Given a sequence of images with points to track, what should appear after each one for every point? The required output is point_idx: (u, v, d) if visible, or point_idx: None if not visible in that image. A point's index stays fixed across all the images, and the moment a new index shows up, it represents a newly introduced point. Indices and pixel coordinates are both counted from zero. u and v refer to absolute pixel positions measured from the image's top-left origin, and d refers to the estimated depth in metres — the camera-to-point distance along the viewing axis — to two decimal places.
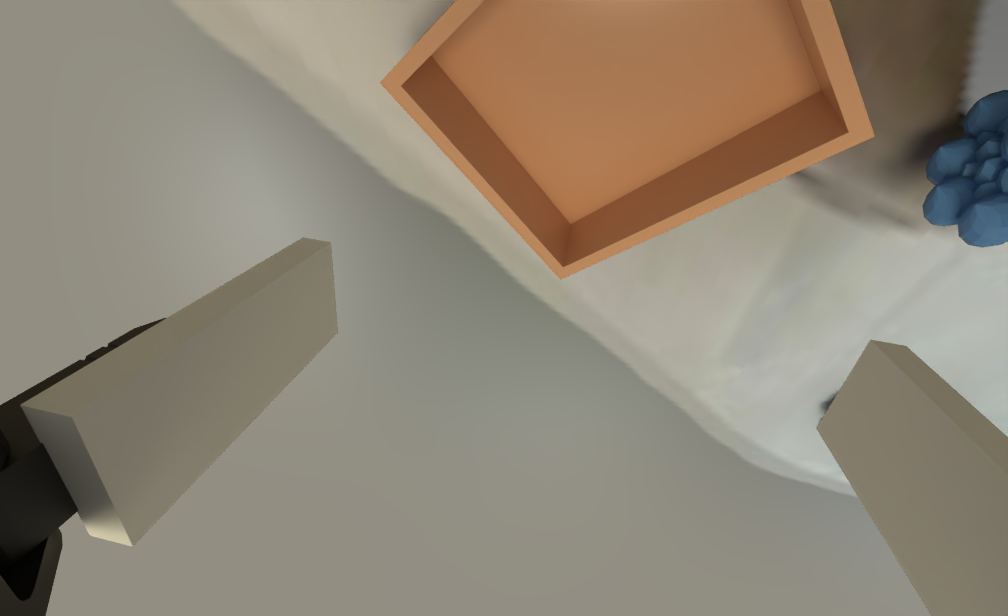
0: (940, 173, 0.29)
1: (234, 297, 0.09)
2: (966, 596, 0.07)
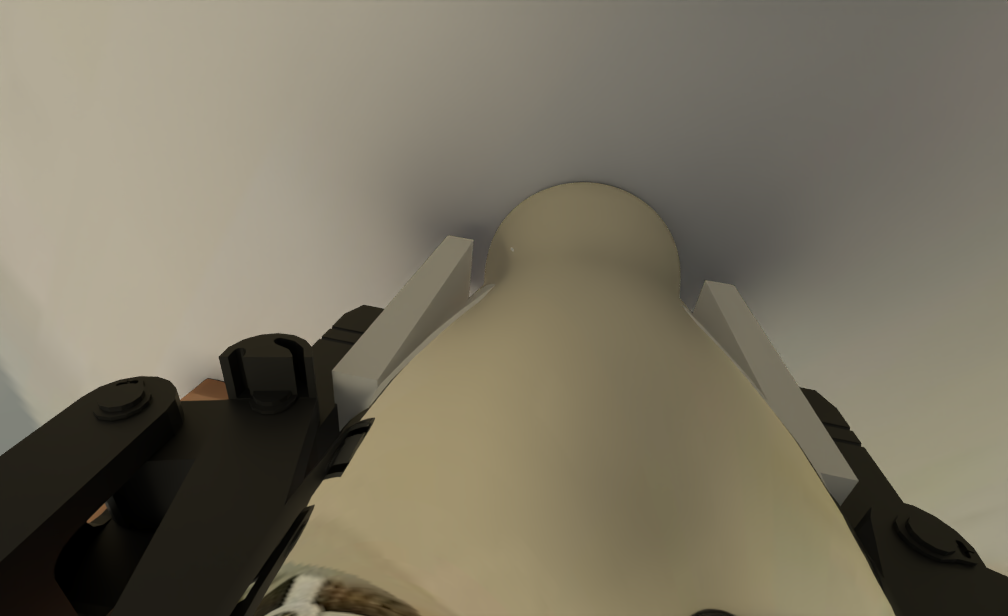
0: None
1: (429, 287, 0.10)
2: None
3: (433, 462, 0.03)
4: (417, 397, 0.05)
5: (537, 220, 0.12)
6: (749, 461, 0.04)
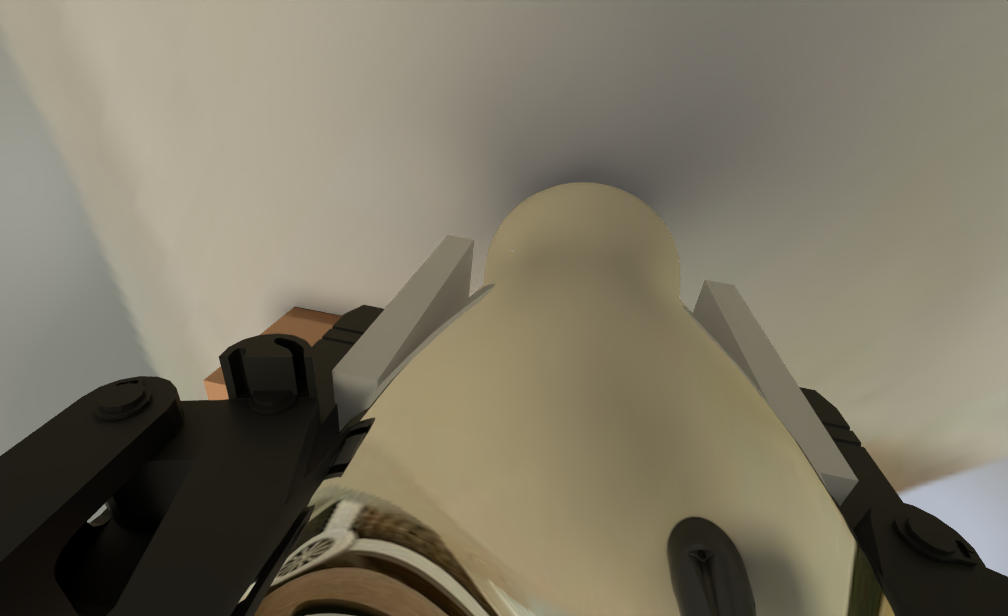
0: None
1: (429, 286, 0.10)
2: None
3: (433, 462, 0.03)
4: (417, 397, 0.05)
5: (537, 220, 0.12)
6: (749, 461, 0.04)
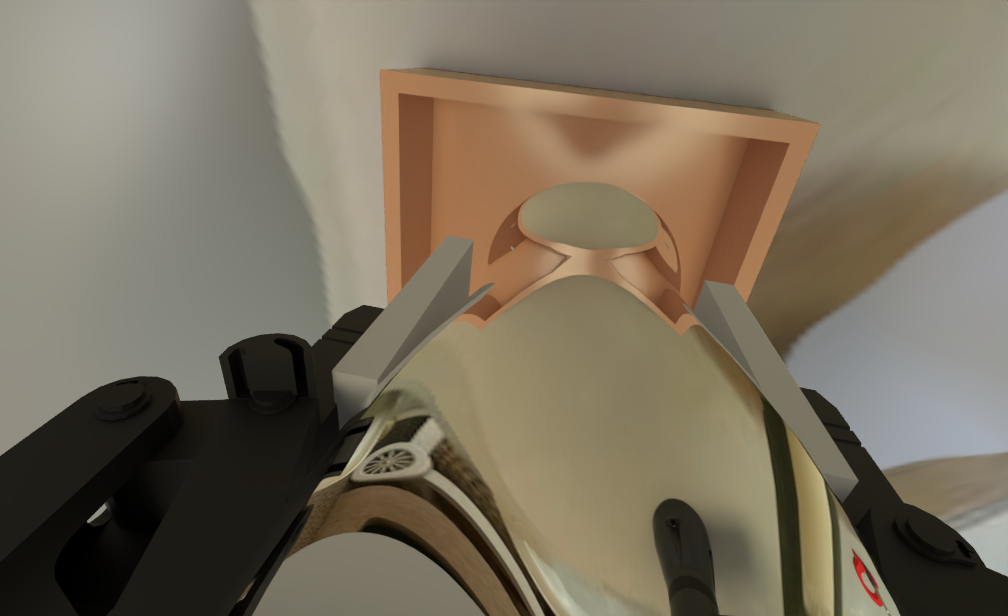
0: None
1: (429, 287, 0.10)
2: None
3: (434, 461, 0.03)
4: (417, 395, 0.05)
5: (537, 219, 0.12)
6: (753, 460, 0.04)
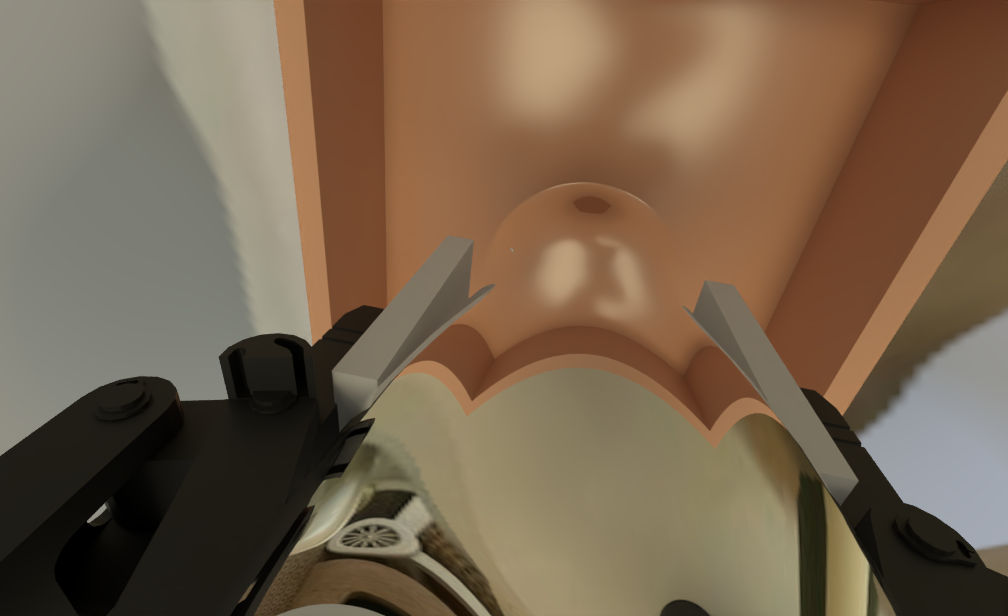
0: None
1: (429, 286, 0.10)
2: None
3: (433, 466, 0.03)
4: (417, 399, 0.05)
5: (537, 220, 0.12)
6: (751, 465, 0.04)
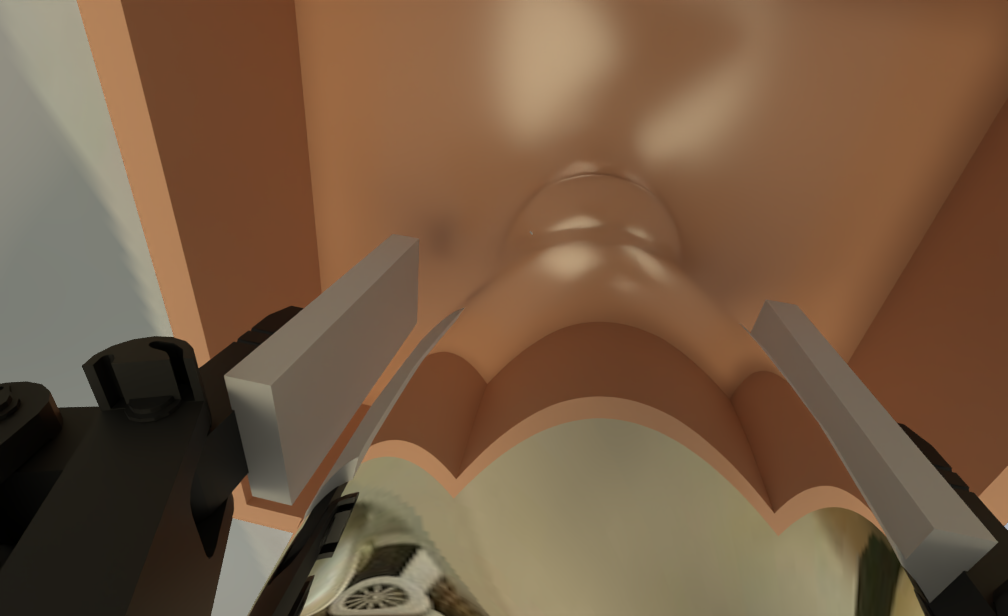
0: None
1: (357, 287, 0.10)
2: None
3: (498, 352, 0.05)
4: (473, 323, 0.06)
5: (553, 207, 0.13)
6: (735, 356, 0.05)
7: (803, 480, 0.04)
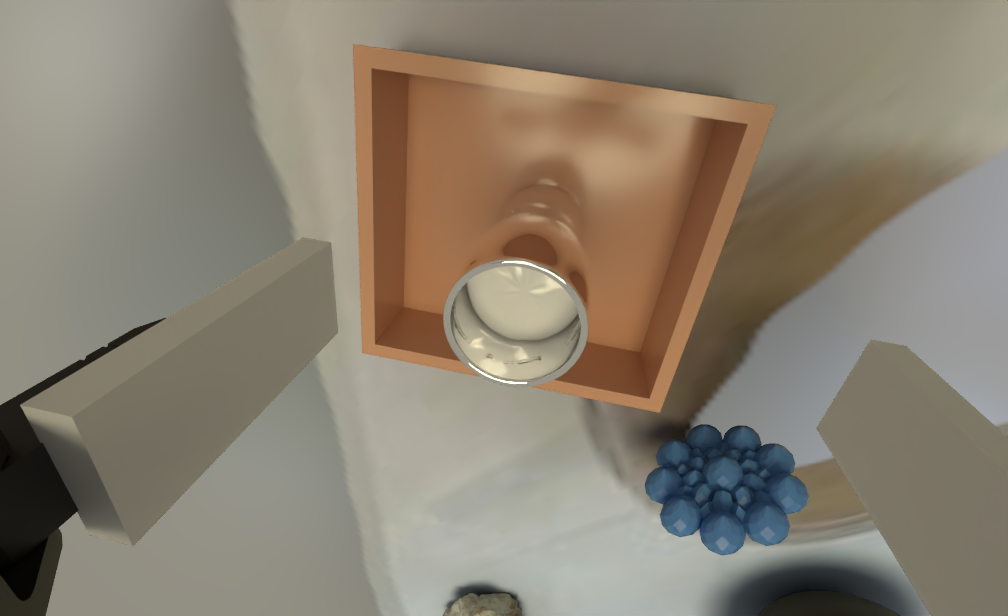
0: (666, 459, 0.37)
1: (234, 297, 0.09)
2: (966, 596, 0.07)
3: (503, 229, 0.22)
4: (496, 228, 0.23)
5: (522, 200, 0.30)
6: (555, 231, 0.22)
7: (556, 244, 0.21)
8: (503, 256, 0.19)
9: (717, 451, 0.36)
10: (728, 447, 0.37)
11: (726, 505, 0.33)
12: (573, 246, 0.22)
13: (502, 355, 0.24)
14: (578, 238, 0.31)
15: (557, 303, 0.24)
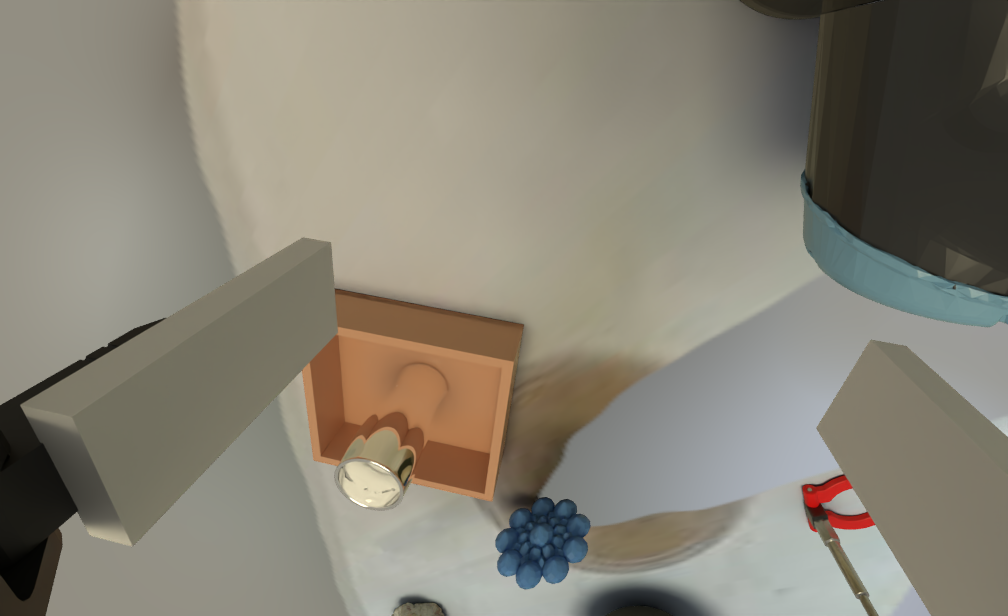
0: (512, 522, 0.57)
1: (234, 297, 0.09)
2: (967, 596, 0.07)
3: (369, 427, 0.42)
4: (369, 421, 0.44)
5: (404, 377, 0.51)
6: (397, 427, 0.43)
7: (392, 440, 0.41)
8: (359, 455, 0.40)
9: (543, 519, 0.57)
10: (554, 515, 0.58)
11: (535, 557, 0.53)
12: (406, 436, 0.42)
13: (375, 487, 0.44)
14: (439, 398, 0.51)
15: None
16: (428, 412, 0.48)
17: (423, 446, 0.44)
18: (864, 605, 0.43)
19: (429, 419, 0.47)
